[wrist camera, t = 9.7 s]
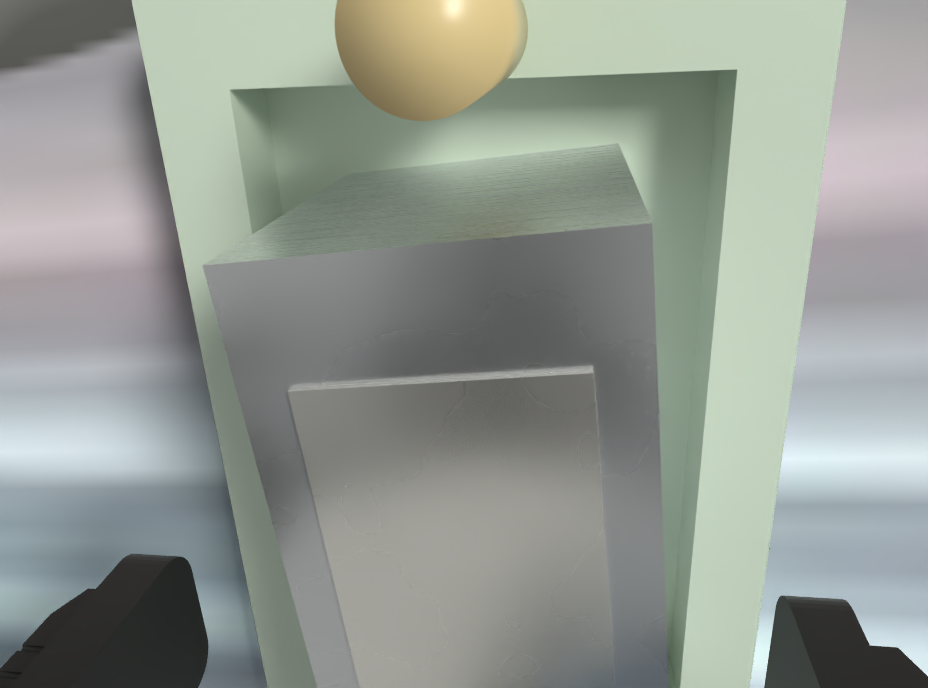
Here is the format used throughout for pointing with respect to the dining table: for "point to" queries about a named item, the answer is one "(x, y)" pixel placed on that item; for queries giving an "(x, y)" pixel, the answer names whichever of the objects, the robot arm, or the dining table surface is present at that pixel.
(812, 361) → the dining table surface
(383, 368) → the block
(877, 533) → the dining table surface
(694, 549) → the tray
